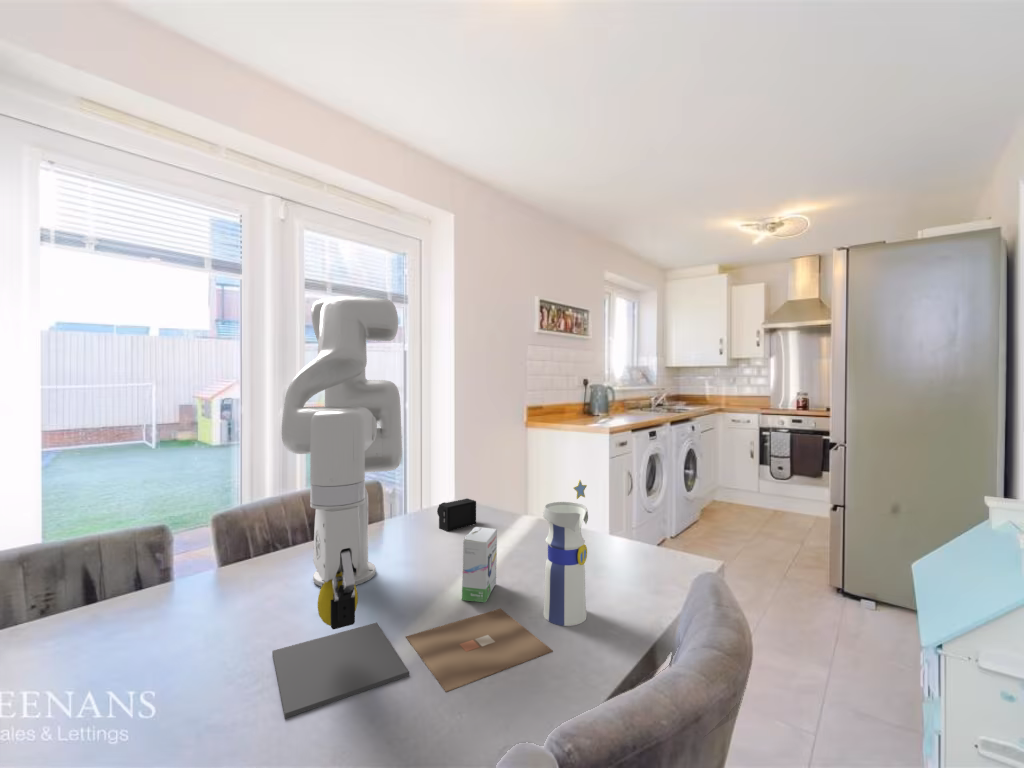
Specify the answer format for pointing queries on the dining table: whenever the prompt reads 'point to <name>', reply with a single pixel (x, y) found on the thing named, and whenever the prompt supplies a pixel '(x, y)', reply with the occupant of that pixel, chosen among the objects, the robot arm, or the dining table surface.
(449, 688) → the board
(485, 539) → the ink box
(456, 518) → the digital camera
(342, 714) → the dining table surface
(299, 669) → the rubber mat
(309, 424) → the robot arm
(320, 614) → the lemon
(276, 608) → the dining table surface
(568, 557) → the water bottle
